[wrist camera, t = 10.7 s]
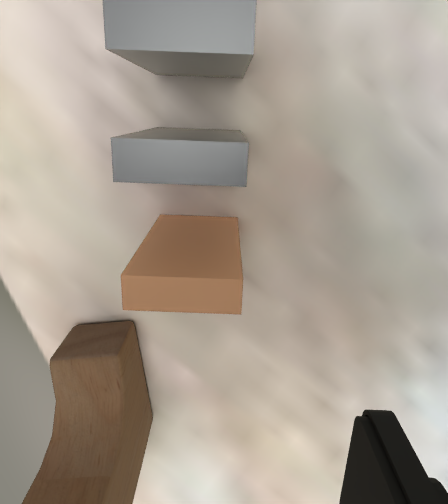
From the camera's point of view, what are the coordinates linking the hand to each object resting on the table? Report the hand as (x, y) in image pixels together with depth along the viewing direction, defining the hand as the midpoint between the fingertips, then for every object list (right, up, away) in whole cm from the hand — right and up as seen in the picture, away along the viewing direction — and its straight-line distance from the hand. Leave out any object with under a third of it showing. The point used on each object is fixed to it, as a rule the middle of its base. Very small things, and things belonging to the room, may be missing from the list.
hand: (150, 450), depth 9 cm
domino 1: (0, +15, +13) cm, 21 cm away
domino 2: (0, +11, +15) cm, 19 cm away
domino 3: (0, +6, +17) cm, 18 cm away
